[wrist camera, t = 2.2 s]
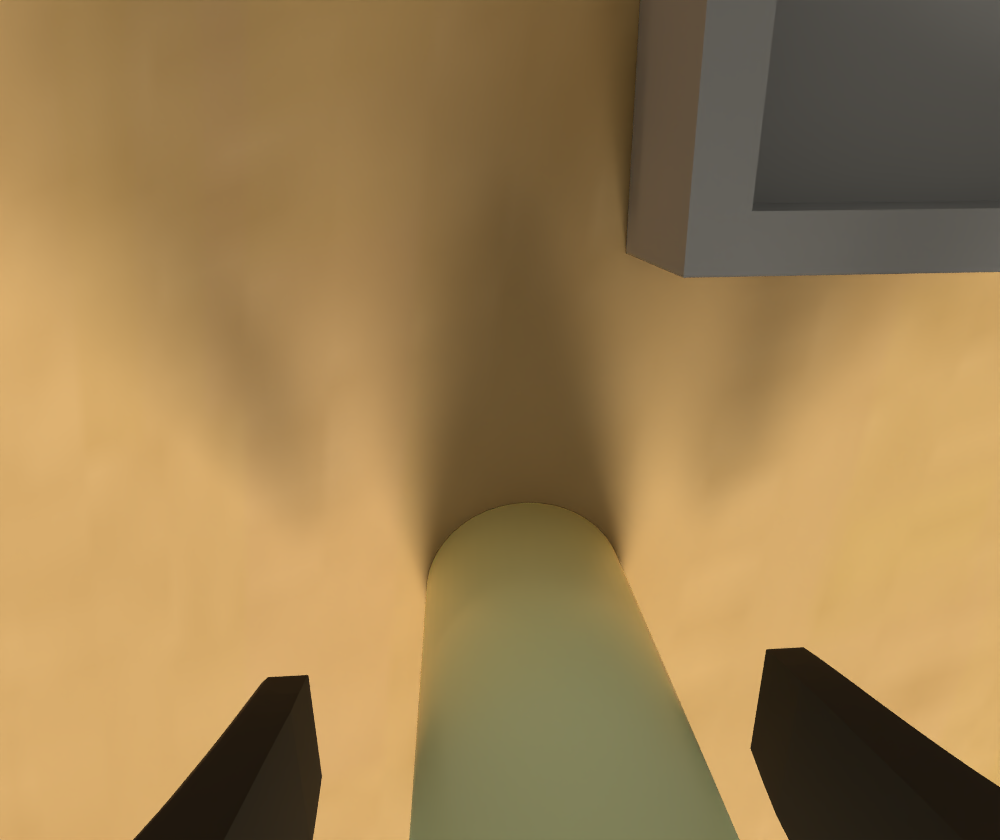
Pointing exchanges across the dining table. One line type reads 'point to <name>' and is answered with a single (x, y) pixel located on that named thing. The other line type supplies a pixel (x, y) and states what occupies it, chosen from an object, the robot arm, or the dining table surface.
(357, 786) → the dining table surface
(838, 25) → the tray
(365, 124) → the dining table surface
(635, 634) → the pale green cylinder
